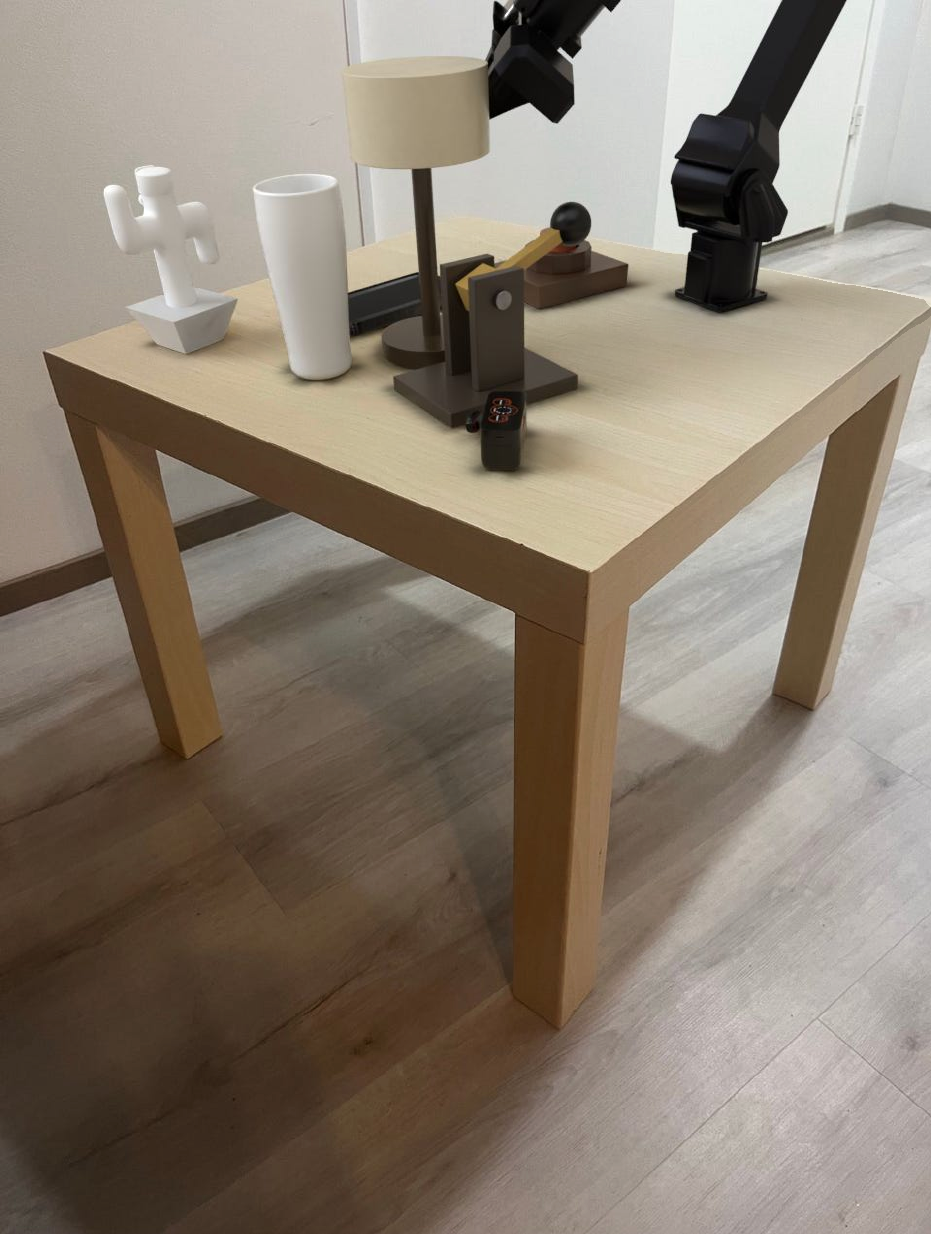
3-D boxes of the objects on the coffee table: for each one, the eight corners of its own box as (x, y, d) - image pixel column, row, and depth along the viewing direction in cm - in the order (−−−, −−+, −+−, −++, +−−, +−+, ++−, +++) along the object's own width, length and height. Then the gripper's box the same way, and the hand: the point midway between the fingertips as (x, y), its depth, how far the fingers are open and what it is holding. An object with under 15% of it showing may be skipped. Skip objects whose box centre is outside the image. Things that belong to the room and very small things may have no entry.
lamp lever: (578, 227, 75) (567, 190, 73) (604, 235, 73) (593, 197, 70) (464, 312, 73) (449, 277, 71) (486, 324, 71) (472, 288, 69)
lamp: (453, 319, 89) (439, 52, 76) (519, 353, 82) (516, 64, 68) (350, 346, 85) (317, 68, 72) (410, 385, 77) (385, 82, 64)
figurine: (254, 334, 88) (223, 161, 79) (172, 366, 83) (128, 184, 74) (206, 319, 92) (171, 153, 83) (125, 349, 86) (77, 174, 77)
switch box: (573, 265, 101) (574, 226, 99) (627, 285, 95) (629, 245, 92) (488, 286, 97) (487, 246, 94) (539, 309, 90) (539, 267, 88)
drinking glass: (328, 392, 77) (300, 198, 68) (266, 377, 80) (232, 189, 71) (376, 363, 81) (357, 177, 72) (316, 350, 84) (290, 170, 75)
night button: (561, 242, 96) (561, 224, 94) (583, 250, 93) (583, 231, 92) (532, 249, 94) (532, 230, 93) (554, 257, 92) (554, 238, 91)
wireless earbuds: (528, 427, 70) (528, 386, 68) (520, 473, 64) (520, 430, 62) (466, 426, 71) (464, 386, 69) (453, 472, 65) (451, 429, 63)
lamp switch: (514, 355, 82) (513, 238, 76) (577, 388, 75) (581, 264, 69) (394, 389, 77) (382, 268, 71) (451, 428, 70) (444, 299, 65)
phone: (301, 306, 90) (422, 270, 98) (303, 318, 91) (423, 281, 98) (347, 326, 85) (471, 286, 93) (349, 338, 86) (472, 297, 93)
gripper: (517, -180, 69) (397, 3, 79) (516, -91, 58) (377, 109, 68) (622, -69, 75) (498, 90, 85) (640, 32, 64) (494, 200, 74)
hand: (467, 118), depth 78 cm, fingers closed
